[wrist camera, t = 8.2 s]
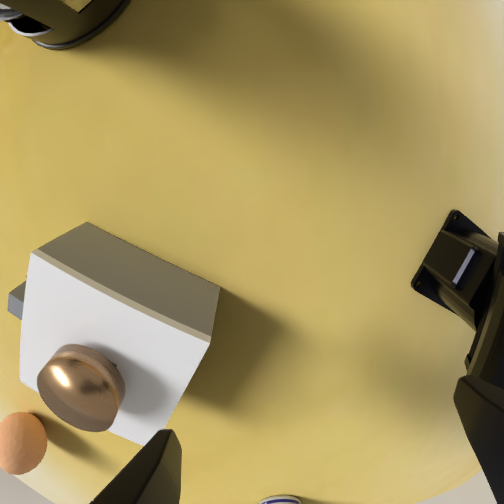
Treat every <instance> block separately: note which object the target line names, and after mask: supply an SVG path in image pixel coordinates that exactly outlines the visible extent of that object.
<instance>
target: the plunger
mask: <svg viewBox="0 0 504 504" xmlns="http://www.w3.org/2000/svg"><path fill="white" fill-rule="evenodd" d="M37 388H38V391H39V393H40V396H41V397H42V399H43V401H44V402H45V404H46V405H47V406H48V407H49V409H50V410H51V411H52V412H53V413H54V414H56V415H57V416H58V417H59V418H60V419H62V420H63V421H65V422H66V423H68V424H70V425H72V426H74V427H76V428H79V429H81V430H85V431H90V432H101V431H105V430H107V429H109V428H110V427H111V426H112V424H113V422H114V420H115V418H116V415H117V413H118V410H119V408H120V406H121V403H122V401H123V399H124V397H125V392H126V388H125V383H124V380H123V378H122V376H121V374H120V372H119V371H118V369H117V368H116V367H115V366H114V364H113V363H112V362H111V361H110V360H108V359H107V358H106V357H105V356H103V355H102V354H101V353H99V352H97V351H96V350H94V349H92V348H90V347H87V346H84V345H80V344H66V345H63V346H61V347H60V348H59V349H58V350H57V351H56V352H55V353H54V355H53V356H52V357H51V358H50V360H49V361H48V362H47V363H46V365H45V366H44V367H43V368H42V370H41V371H40V372H39V374H38V376H37Z"/></svg>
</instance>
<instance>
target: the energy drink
mask: <svg viewBox="0 0 504 504" xmlns="http://www.w3.org/2000/svg"><path fill="white" fill-rule="evenodd" d="M258 504H301V501H300V500H299V499H297V498H296V497H294V496H290V495H276V496H271V497H267V498H265V499H263V500H261V501H260V502H259V503H258Z"/></svg>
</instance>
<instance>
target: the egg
mask: <svg viewBox="0 0 504 504" xmlns="http://www.w3.org/2000/svg"><path fill="white" fill-rule="evenodd" d="M46 448H47V435H46V432H45V429H44V426H43V424H42V423H41V422H40V420H39V419H38V418H37V417H35V416H34V415H32V414H30V413H26V412H17V413H13V414H10V415H8V416H7V417H6V418H4V420H3V421H2V422H1V423H0V467H1V468H2V469H3V470H4V471H6V472H8V473H10V474H15V475H20V474H24V473H27V472H29V471H31V470H32V469H34V468H35V467H37V465H38V464H39V463H40V462H41V460H42V459H43V457H44V455H45V452H46Z"/></svg>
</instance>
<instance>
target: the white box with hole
mask: <svg viewBox="0 0 504 504" xmlns="http://www.w3.org/2000/svg"><path fill="white" fill-rule="evenodd" d="M219 292H220V286H218V285H215V284H213V283H211V282H209V281H207V280H205V279H202V278H200V277H198V276H196V275H194V274H192V273H190V272H187V271H185V270H183V269H181V268H179V267H177V266H175V265H173V264H171V263H168V262H166V261H164V260H162V259H160V258H158V257H156V256H154V255H152V254H150V253H148V252H146V251H144V250H142V249H140V248H137V247H135V246H133V245H131V244H129V243H127V242H125V241H123V240H121V239H119V238H117V237H115V236H113V235H111V234H109V233H107V232H105V231H103V230H102V229H100V228H98V227H96V226H94V225H92V224H90V223H88V222H86V223H84V224H82V225H80V226H78V227H76V228H74V229H72V230H70V231H69V232H67V233H65V234H63V235H61V236H59V237H57V238H56V239H54V240H52V241H50V242H48V243H47V244H45V245H43V246H41V247H40V248H38V249H36V250H34V251H33V252H31V256H30V261H29V267H28V274H27V280H26V281H25V282H23V283H22V284H21V285H19V286H18V287H16V288H15V289H14V290H12V291H11V292H10V293H9V299H8V311H9V312H10V313H12V314H13V315H15V316H16V317H18V318H19V319H21V320H22V327H21V344H20V381H21V382H22V383H24V384H25V385H27V386H28V387H30V388H31V389H33V390H34V391H36V392H38V393H39V391H38V388H37V376H38V374H39V372H40V371H41V370H42V368H43V367H44V366H45V365H46V363H47V362H48V361H49V360H50V358H51V357H52V356H53V355H54V353H55V352H56V351H57V350H58V349H59V348H60V347H61V346H63V345H66V344H80V345H84V346H87V347H90V348H92V349H94V350H96V351H97V352H99V353H101V354H102V355H103V356H105V357H106V358H107V359H108V360H110V361H111V362H112V363H113V364H114V366H115V367H116V368H117V369H118V371H119V372H120V374H121V376H122V378H123V380H124V383H125V388H126V392H125V397H124V399H123V401H122V403H121V406H120V408H119V410H118V413H117V415H116V418H115V420H114V422H113V424H112V426H111V427H110V428H109V429H107V430H108V431H110V432H112V433H114V434H117V435H119V436H121V437H123V438H126V439H128V440H130V441H133V442H135V443H138V444H140V445H142V446H145V445H146V443H147V442H148V441H149V440H150V439H151V438H152V437H153V436H154V435H155V434H156V432H157V431H158V430H160V429H164V427H165V426H166V424H167V422H168V420H169V418H170V416H171V415H172V413H173V411H174V409H175V407H176V405H177V404H178V402H179V400H180V398H181V396H182V394H183V393H184V391H185V389H186V387H187V385H188V383H189V382H190V380H191V378H192V376H193V374H194V372H195V370H196V369H197V367H198V365H199V363H200V361H201V359H202V358H203V356H204V354H205V352H206V350H207V348H208V346H209V345H210V341H211V336H212V330H213V325H214V319H215V314H216V308H217V303H218V297H219ZM39 394H40V393H39Z"/></svg>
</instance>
